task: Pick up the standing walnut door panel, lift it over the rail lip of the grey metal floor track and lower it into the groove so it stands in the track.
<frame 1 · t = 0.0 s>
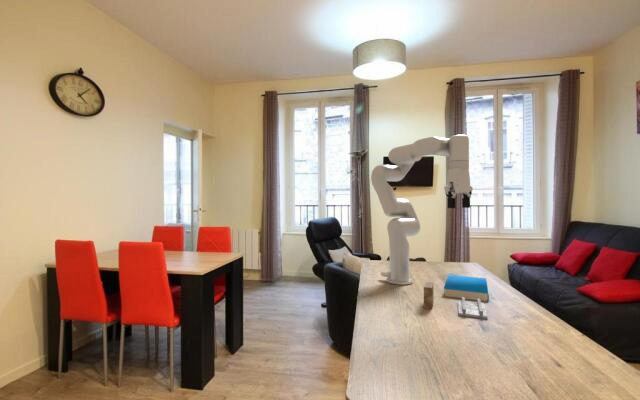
hand: (458, 207, 130), 37 cm above the table, tool pointing down, fingers open, 9 cm apart
door panel: (428, 305, 123), on the table
book: (466, 292, 142), on the table
floor track: (471, 310, 117), on the table
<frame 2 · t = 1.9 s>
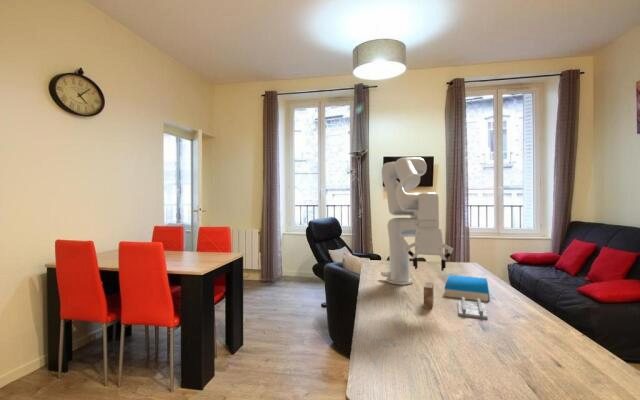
hand: (429, 269, 122), 14 cm above the table, tool pointing down, fingers open, 9 cm apart
nothing on the table moved.
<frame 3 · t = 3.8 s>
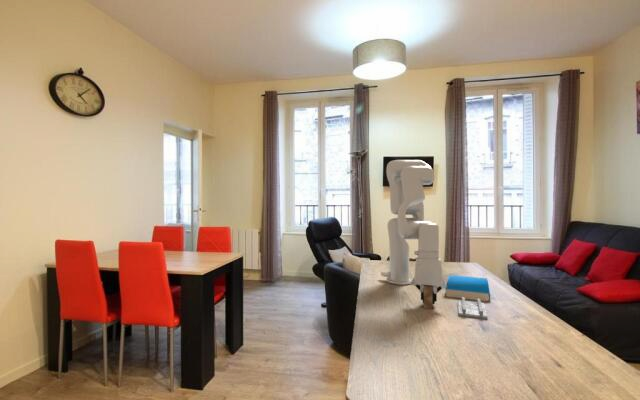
hand: (428, 302, 123), 1 cm above the table, tool pointing down, fingers closed on door panel, 3 cm apart
door panel: (428, 305, 123), on the table, touching gripper
everything else where it was.
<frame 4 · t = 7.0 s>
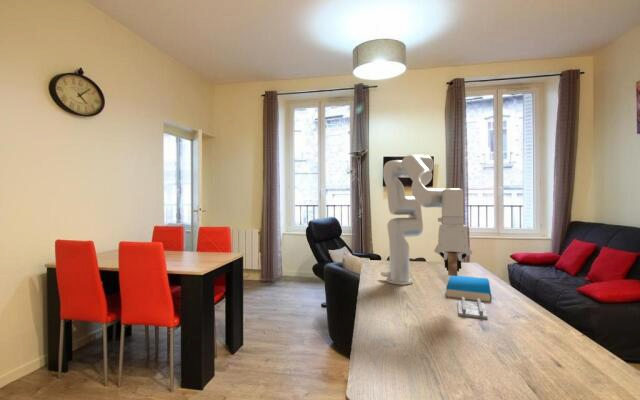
hand: (452, 269, 119), 14 cm above the table, tool pointing down, fingers closed on door panel, 3 cm apart
door panel: (452, 273, 119), point 13 cm above the table, touching gripper
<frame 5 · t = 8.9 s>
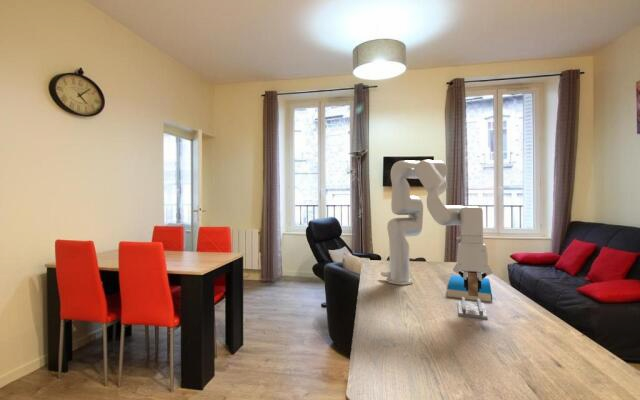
hand: (472, 289, 116), 8 cm above the table, tool pointing down, fingers closed on door panel, 3 cm apart
door panel: (472, 293, 116), point 6 cm above the table, touching gripper
when the fingers open (3 cm above the table, at t = 10.5 s): door panel stays where it is, resting on floor track.
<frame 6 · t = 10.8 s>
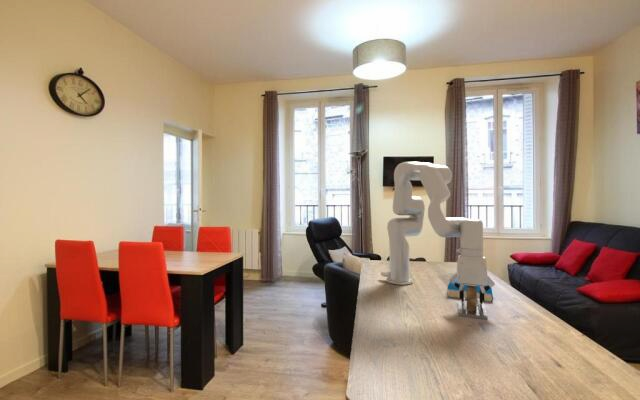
hand: (471, 301, 117), 3 cm above the table, tool pointing down, fingers open, 5 cm apart
door panel: (471, 307, 117), point 1 cm above the table, touching floor track
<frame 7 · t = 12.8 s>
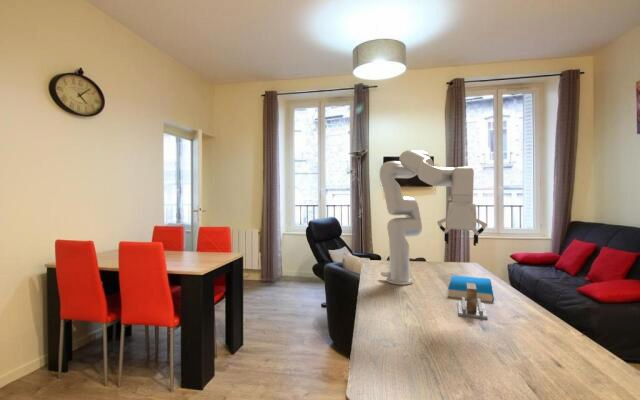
hand: (460, 244, 122), 24 cm above the table, tool pointing down, fingers open, 9 cm apart
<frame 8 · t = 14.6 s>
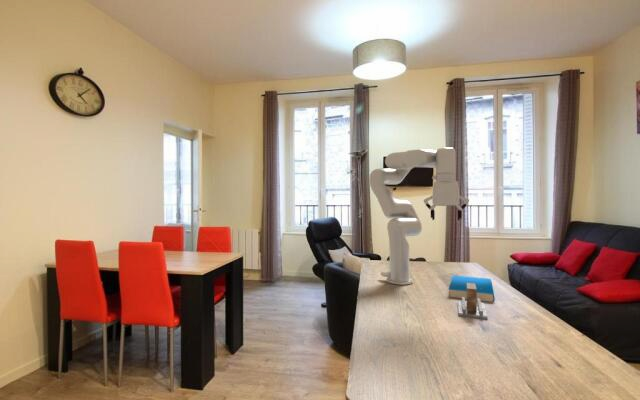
hand: (445, 220, 130), 32 cm above the table, tool pointing down, fingers open, 9 cm apart
at the end: door panel inside the target area on the floor track (0.1 cm from its centre), point 1.0 cm above the floor track's base; door panel tilted 0°; the gripper is holding nothing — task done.
